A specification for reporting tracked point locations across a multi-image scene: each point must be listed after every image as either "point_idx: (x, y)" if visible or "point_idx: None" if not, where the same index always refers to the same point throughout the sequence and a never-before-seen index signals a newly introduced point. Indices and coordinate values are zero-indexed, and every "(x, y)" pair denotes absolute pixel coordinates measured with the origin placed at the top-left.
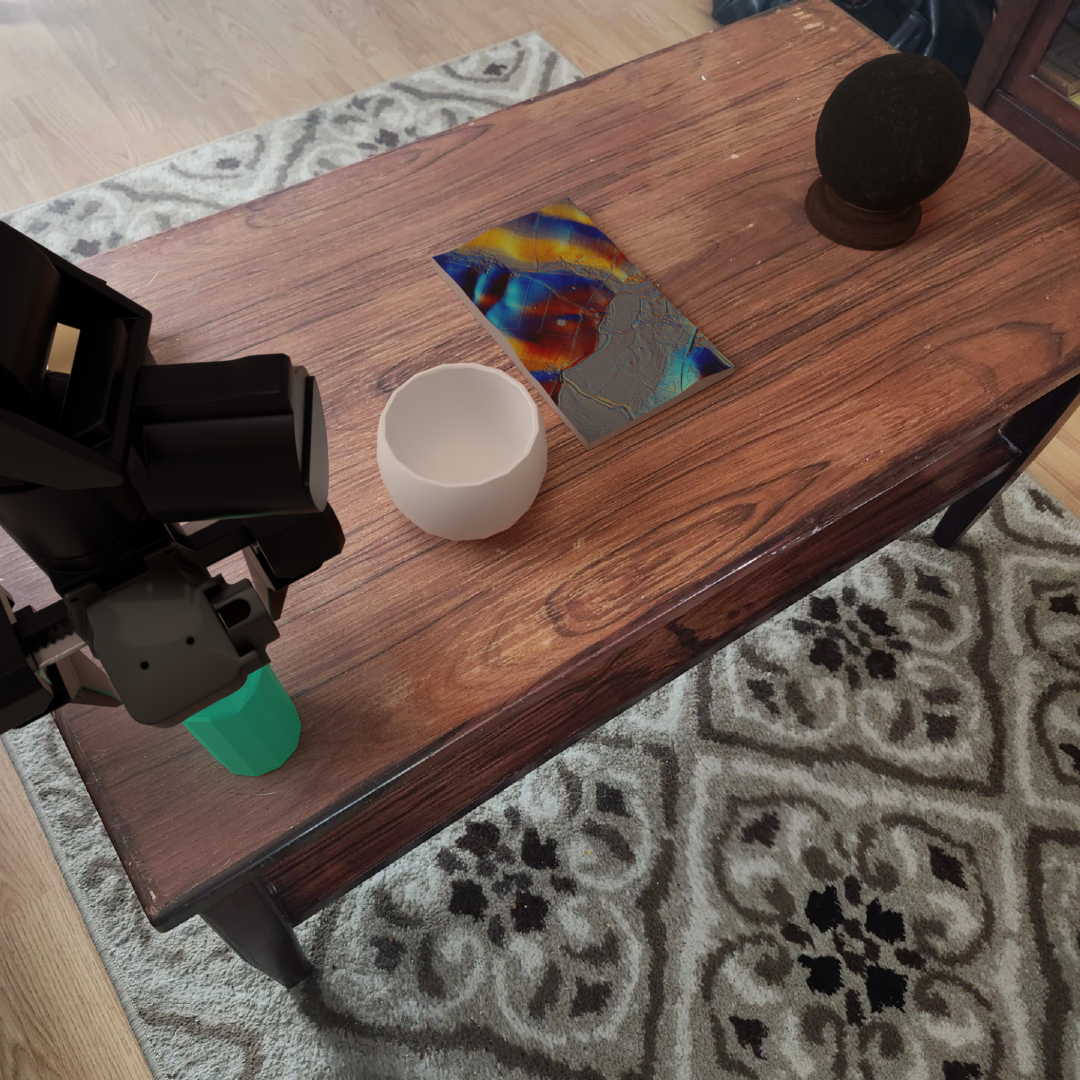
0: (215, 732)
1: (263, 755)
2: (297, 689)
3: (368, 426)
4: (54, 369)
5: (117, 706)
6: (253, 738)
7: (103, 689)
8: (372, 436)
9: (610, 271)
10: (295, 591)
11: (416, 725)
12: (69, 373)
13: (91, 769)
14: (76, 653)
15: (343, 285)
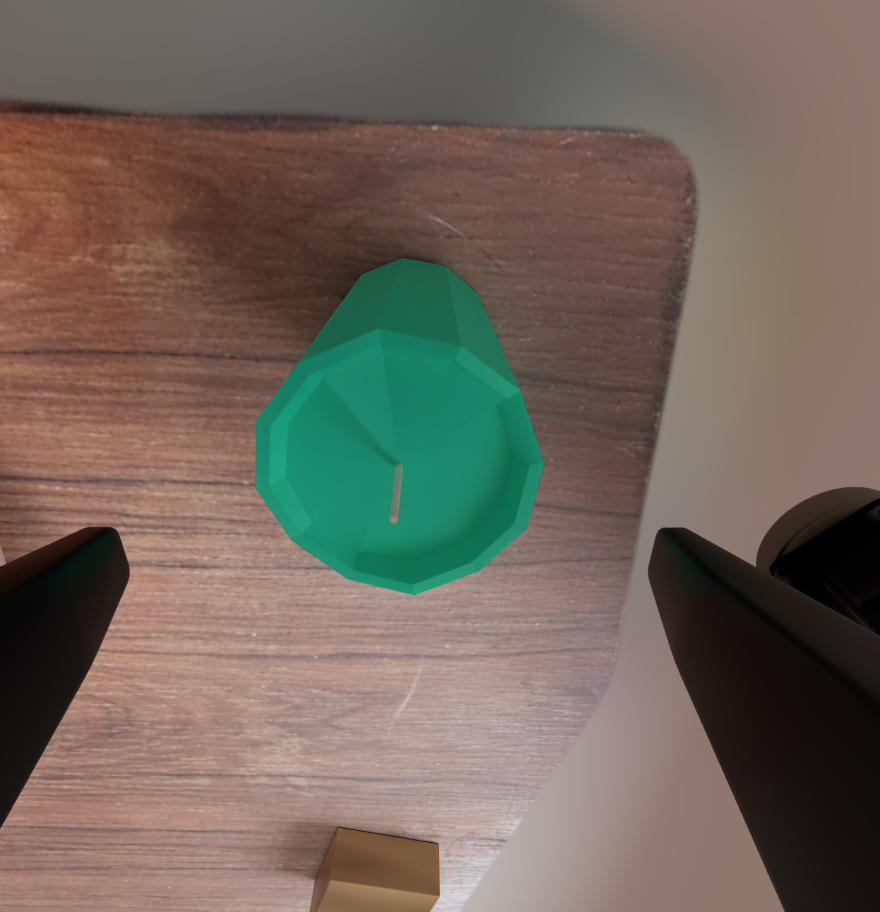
0: (466, 330)
1: (411, 272)
2: None
3: None
4: (423, 909)
5: (684, 530)
6: (401, 289)
7: (756, 639)
8: None
9: None
10: (258, 524)
11: (129, 173)
12: (409, 901)
13: (655, 433)
14: (789, 845)
15: (46, 852)
